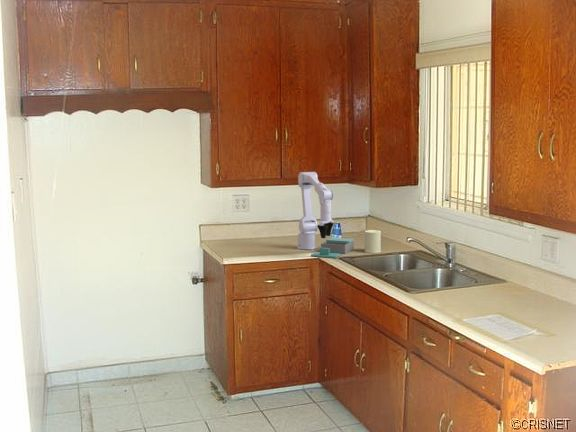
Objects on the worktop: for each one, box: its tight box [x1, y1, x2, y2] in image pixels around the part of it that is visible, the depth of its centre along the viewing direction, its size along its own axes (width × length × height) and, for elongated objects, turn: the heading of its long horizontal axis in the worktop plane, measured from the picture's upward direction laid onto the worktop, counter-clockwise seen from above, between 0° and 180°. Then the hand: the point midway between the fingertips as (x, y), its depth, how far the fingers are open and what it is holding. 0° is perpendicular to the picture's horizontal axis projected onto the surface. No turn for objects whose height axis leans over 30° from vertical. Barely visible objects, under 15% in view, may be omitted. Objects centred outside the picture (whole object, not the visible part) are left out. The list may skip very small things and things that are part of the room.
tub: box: [320, 237, 355, 255], centre depth 392 cm, size 14×16×6 cm
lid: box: [310, 247, 341, 259], centre depth 377 cm, size 14×8×5 cm, turn 67°
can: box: [363, 229, 382, 254], centre depth 389 cm, size 9×9×12 cm
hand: (325, 236), depth 378 cm, fingers open, 7 cm apart
